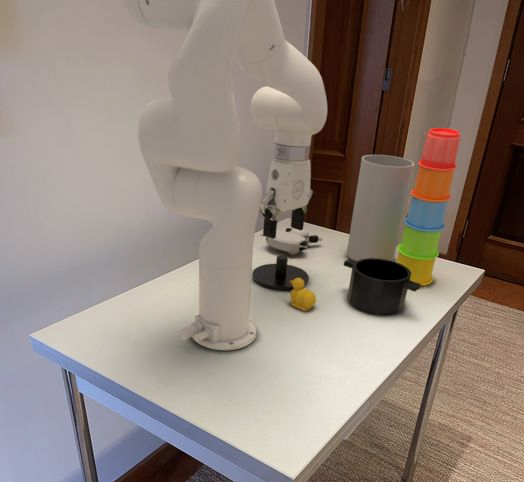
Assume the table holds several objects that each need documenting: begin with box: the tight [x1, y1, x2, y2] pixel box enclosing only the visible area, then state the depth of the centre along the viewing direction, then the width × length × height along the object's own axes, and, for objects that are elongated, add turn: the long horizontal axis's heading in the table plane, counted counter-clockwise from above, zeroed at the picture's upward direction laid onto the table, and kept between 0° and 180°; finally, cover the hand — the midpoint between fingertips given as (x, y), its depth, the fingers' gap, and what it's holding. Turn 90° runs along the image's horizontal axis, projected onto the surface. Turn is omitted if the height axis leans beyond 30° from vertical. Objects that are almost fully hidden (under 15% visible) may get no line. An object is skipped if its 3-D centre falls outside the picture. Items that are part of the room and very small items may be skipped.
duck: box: [289, 278, 317, 312], centre depth 113 cm, size 7×4×6 cm, turn 49°
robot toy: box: [259, 227, 323, 255], centre depth 142 cm, size 12×4×15 cm
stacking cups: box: [396, 127, 462, 287], centre depth 122 cm, size 10×10×35 cm
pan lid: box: [251, 254, 310, 290], centre depth 124 cm, size 13×13×6 cm
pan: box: [343, 258, 422, 317], centre depth 116 cm, size 12×18×8 cm
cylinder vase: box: [346, 154, 415, 261], centre depth 134 cm, size 12×12×25 cm
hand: (283, 232), depth 119 cm, fingers open, 9 cm apart
